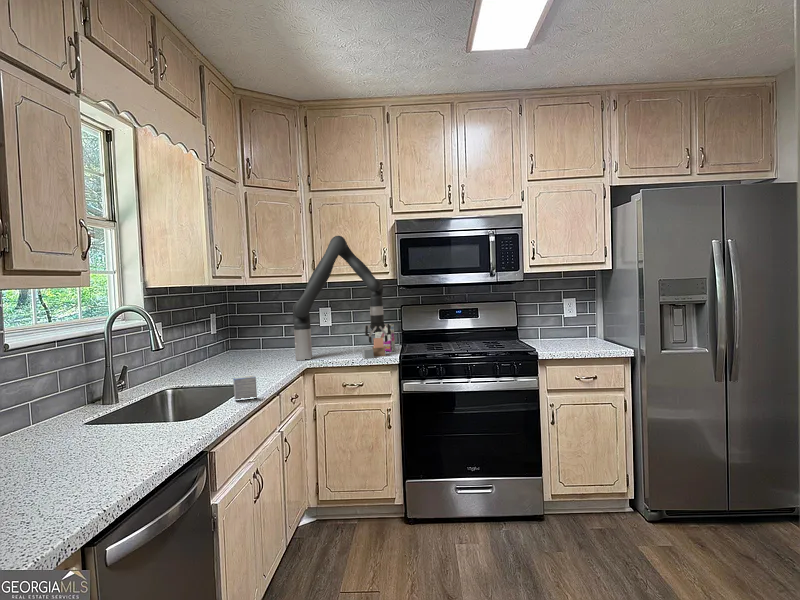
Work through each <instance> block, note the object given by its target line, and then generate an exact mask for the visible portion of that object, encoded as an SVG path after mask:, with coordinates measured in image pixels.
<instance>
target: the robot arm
mask: <svg viewBox="0 0 800 600" xmlns="http://www.w3.org/2000/svg"><path fill="white" fill-rule="evenodd" d="M347 243H348V242H347V240H346V239H345V238H344V236H341V235H335V236H333V237H332V238H331V239H330V241H329V244H328V245H327V247H326V250H325V252H324V254H323V256H322V258H321V259H320V261H318V264H317V265H316V267H315V268H314V269H313V271H312V274H310V275H311V276H310V277H309V279H308V281H307V284H306V287H305V290H304V291H303V293H302V295H300V297H299V299H298V300H297V301H296V302H294V304H293V306H292V319H293V329H294V330H293V331H294V332H293V333H294V353H295V361H306V360H305V359H310V360H312V359H313V346H312V329H311V326H312V325H311V317H310V311H311V308H312V306H313V304H314V303H315V300H316V298H317V297H318V295H319V294H320V293H321V291H322V290H323V288H324V286H325V285H326V284H327V283H328V280H329V278H330V276H331V274H332V272H333V270H334V266H335V262H336V260H337V259H338V257H341V259H343V260H344V261H345V262H346V263H347V265H349V267H350V268H351V269H352V270H353V271H354V272H355V274H356V275H357V276H358V277H359V278H360V279H361V280H362V282H363V283H364V285H365V286H366V287H367V288H368V290H369V291H370V292H371V293H370V294H371V296H370V297H369V299H370V300H369V305H370V306H369V307H370V308H369V310H370V311H369V314H370V318H369V319H370V325H369V324H368V325H367V324H366V325H364V327H365V328H364V331H365V332H364V334H365V335H364V336H365V337H368V342H369V343H370V344H372V343H373V341H372V340H373V337H372V335H373V334H375V332H381V331H382V332H383V333H384V334H385V342H387V341H388V337H387V336H388V335H389V334H391V333H390V324H391V323H385V318H384V313H385V312H384V307H383V306H384V305H383V304H384V303H383V294H384V284H383V281H381V280H380V279H378V278H376V277H375V276H374V275H373V273H372V271H371V269H369V268H368V266H367V265H366V264H365V263H364V262H363V261H362V260H361V259H359V258H358V257H357V255H355V253H354V252H353V251H352V250H351V248H350V246H349V245H348V244H347ZM385 326H386V328H387V329H388V333H386V332H385V331H384V327H385ZM370 329H371V330H370ZM369 330H370V332H369ZM311 358H312V359H311Z"/></svg>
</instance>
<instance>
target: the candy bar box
mask: <svg viewBox="0 0 800 600" xmlns="http://www.w3.org/2000/svg"><path fill="white" fill-rule="evenodd" d="M389 324H390V333H391V334H389V335H388V336H387V337H388V341H387V342H385V334H384V333H383V332H382V331H381V332H374V338H383V346H385V351H387V352H386V353H393V352H396V343H395V342H396V340H395V337H396V335H395V324H394V323H389ZM384 331H385V332H386V333H388V329H387V328H386V326H385V327H384ZM392 351H393V352H392Z"/></svg>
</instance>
